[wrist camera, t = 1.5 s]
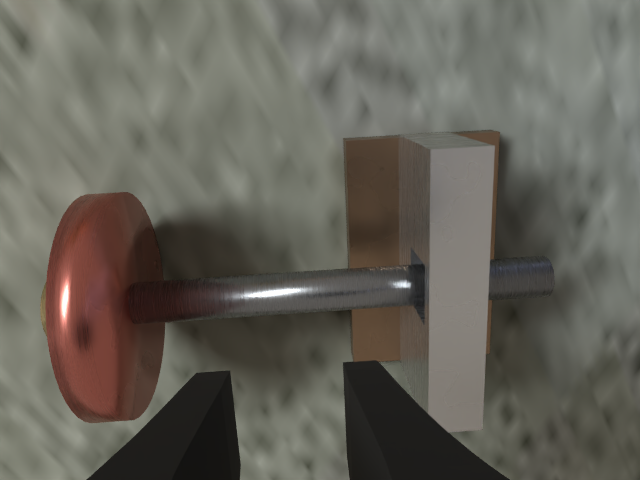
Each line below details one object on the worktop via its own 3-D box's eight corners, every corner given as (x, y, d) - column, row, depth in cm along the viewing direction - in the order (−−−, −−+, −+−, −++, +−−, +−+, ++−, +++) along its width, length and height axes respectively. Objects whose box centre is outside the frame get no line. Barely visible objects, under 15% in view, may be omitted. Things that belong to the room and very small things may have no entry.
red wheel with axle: (507, 153, 18) (621, 190, 12) (498, 326, 20) (593, 437, 13) (80, 179, 17) (-36, 230, 11) (112, 353, 19) (27, 481, 13)
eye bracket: (490, 127, 18) (562, 141, 13) (482, 345, 20) (540, 425, 15) (343, 135, 18) (362, 153, 13) (351, 354, 20) (369, 438, 15)
